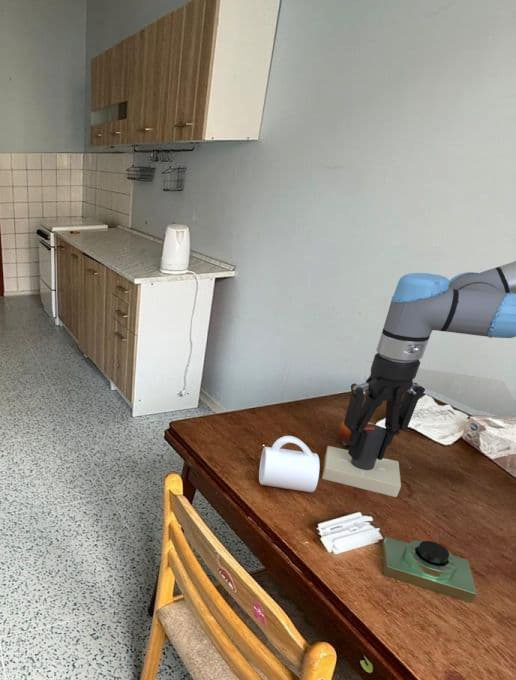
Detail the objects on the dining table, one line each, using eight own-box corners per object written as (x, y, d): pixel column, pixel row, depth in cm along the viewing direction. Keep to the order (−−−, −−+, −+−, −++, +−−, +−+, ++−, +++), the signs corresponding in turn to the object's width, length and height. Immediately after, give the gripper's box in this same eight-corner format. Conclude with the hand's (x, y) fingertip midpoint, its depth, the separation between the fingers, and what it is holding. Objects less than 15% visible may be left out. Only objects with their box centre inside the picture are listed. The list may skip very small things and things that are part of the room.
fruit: (333, 445, 113) (343, 413, 113) (334, 446, 120) (343, 416, 119) (372, 455, 109) (382, 422, 109) (370, 456, 116) (380, 425, 115)
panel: (394, 472, 105) (398, 460, 104) (396, 497, 98) (401, 485, 96) (324, 456, 112) (328, 445, 110) (321, 478, 104) (325, 467, 102)
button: (443, 553, 79) (447, 545, 78) (447, 569, 76) (451, 561, 75) (415, 545, 81) (418, 537, 80) (417, 560, 78) (421, 553, 77)
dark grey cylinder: (367, 458, 105) (379, 422, 101) (378, 470, 101) (391, 433, 97) (347, 458, 105) (358, 422, 101) (357, 470, 101) (369, 433, 97)
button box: (463, 569, 81) (472, 552, 79) (471, 603, 75) (481, 586, 73) (382, 545, 86) (388, 528, 84) (383, 575, 80) (390, 558, 78)
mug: (312, 500, 98) (326, 452, 92) (259, 492, 100) (269, 444, 95) (307, 477, 104) (320, 431, 99) (258, 470, 107) (267, 424, 102)
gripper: (362, 364, 88) (332, 466, 99) (458, 363, 88) (416, 466, 99) (342, 349, 95) (316, 447, 106) (431, 348, 94) (395, 446, 105)
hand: (364, 456), depth 102 cm, fingers closed on dark grey cylinder, 4 cm apart
